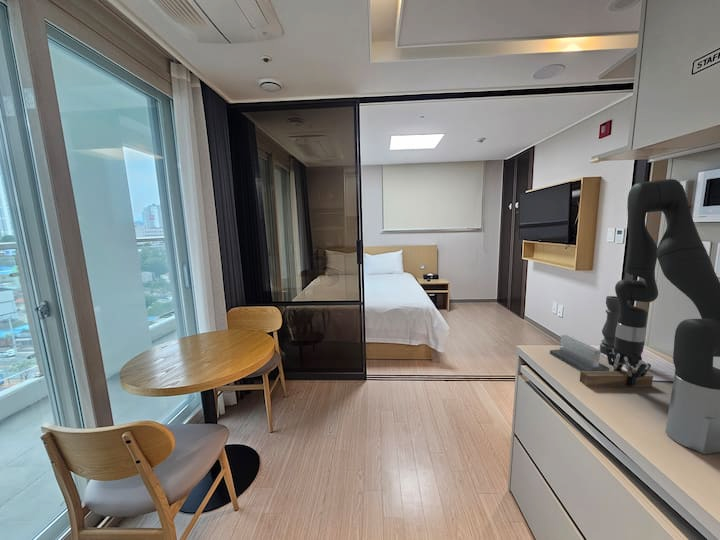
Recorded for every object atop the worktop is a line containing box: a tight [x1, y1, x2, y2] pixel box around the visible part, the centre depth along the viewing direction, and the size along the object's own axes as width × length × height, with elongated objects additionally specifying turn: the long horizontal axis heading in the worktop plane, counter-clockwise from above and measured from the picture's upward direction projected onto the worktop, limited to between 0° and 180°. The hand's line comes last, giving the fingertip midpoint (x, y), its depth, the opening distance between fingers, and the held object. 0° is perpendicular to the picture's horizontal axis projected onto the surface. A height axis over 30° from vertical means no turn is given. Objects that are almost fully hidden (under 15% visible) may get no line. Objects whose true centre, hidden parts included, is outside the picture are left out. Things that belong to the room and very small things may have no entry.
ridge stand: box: [549, 334, 611, 372], centre depth 119 cm, size 18×10×8 cm, turn 7°
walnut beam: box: [579, 370, 654, 388], centre depth 103 cm, size 4×22×4 cm, turn 87°
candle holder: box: [599, 295, 619, 356], centre depth 125 cm, size 6×6×25 cm
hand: (623, 382), depth 104 cm, fingers closed on walnut beam, 4 cm apart
